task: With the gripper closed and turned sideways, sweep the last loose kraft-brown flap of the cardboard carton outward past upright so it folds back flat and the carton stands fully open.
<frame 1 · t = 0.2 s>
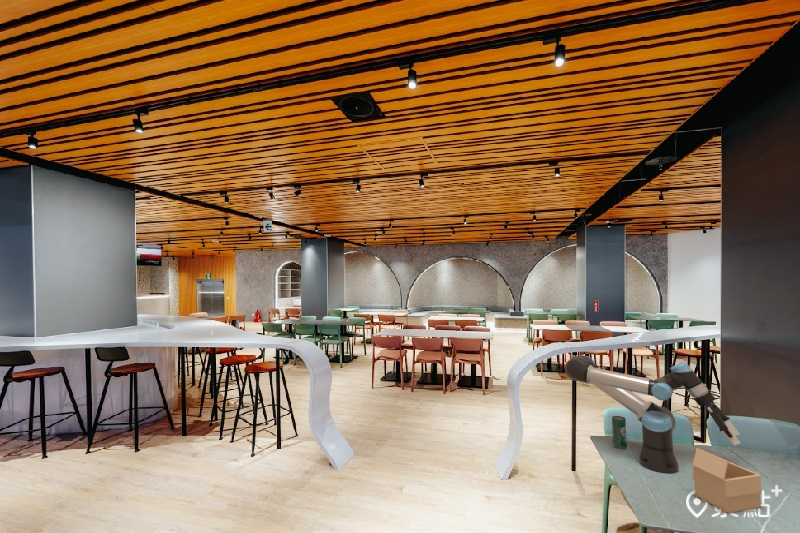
hand: (737, 439, 169), 15 cm above the table, tool tilted 35°, fingers open, 13 cm apart
carton: (727, 501, 146), on the table
can: (620, 447, 197), on the table
flap: (709, 463, 146), point 15 cm above the table, hinge at 70.0°
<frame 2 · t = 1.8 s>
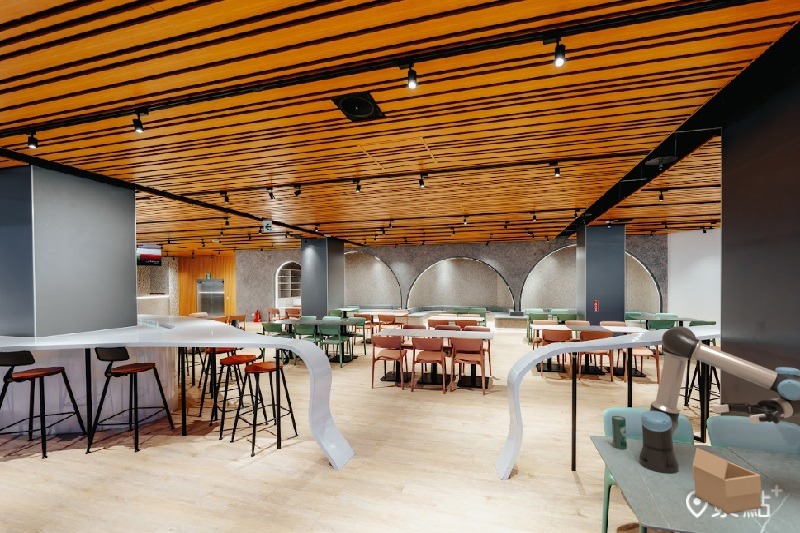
hand: (732, 414, 150), 32 cm above the table, tool horizontal, fingers open, 13 cm apart
nothing on the table moved.
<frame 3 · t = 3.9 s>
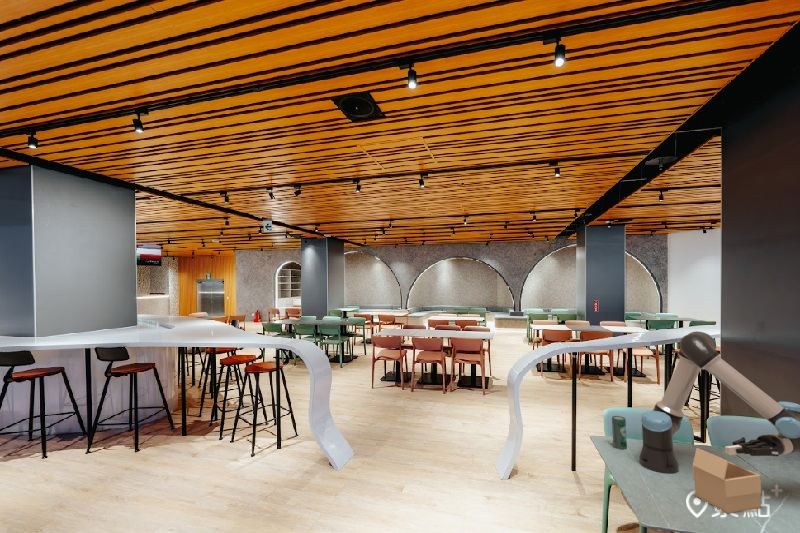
hand: (727, 450, 148), 19 cm above the table, tool horizontal, fingers closed
nothing on the table moved.
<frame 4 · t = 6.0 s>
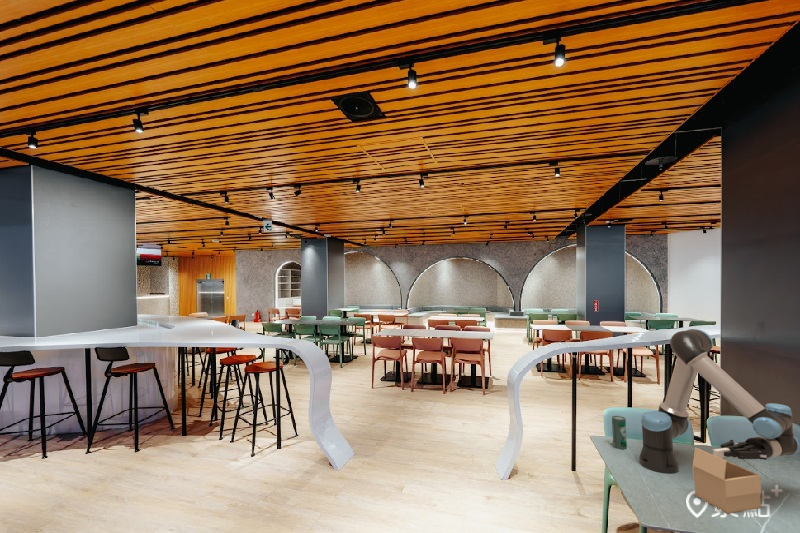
hand: (714, 453, 145), 19 cm above the table, tool horizontal, fingers closed
flap: (709, 462, 146), point 15 cm above the table, hinge at 77.1°, touching gripper
everything else where it was.
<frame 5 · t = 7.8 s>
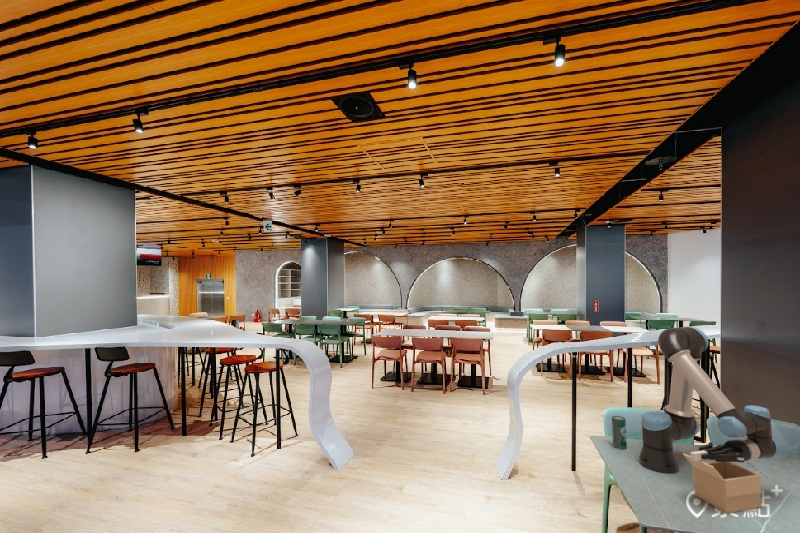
hand: (692, 456, 144), 19 cm above the table, tool horizontal, fingers closed
flap: (702, 466, 145), point 14 cm above the table, hinge at 130.7°, touching carton
everything else where it was.
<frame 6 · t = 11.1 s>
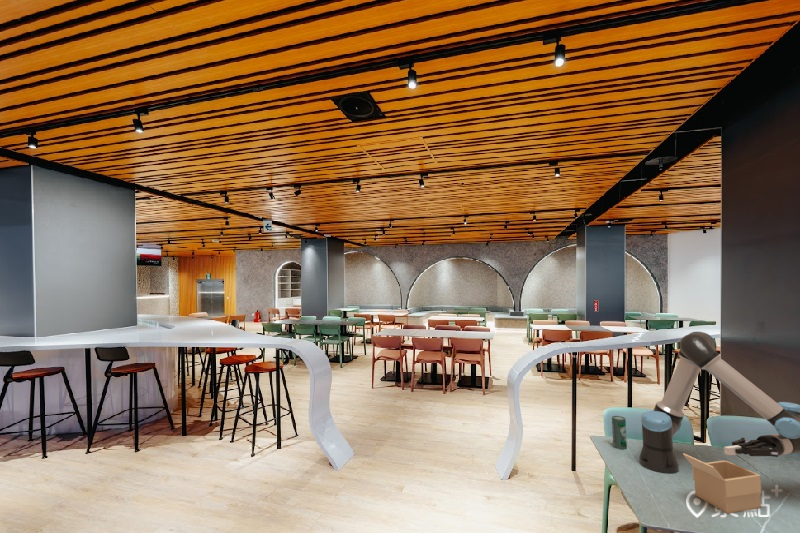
hand: (726, 451, 148), 19 cm above the table, tool horizontal, fingers closed
nothing on the table moved.
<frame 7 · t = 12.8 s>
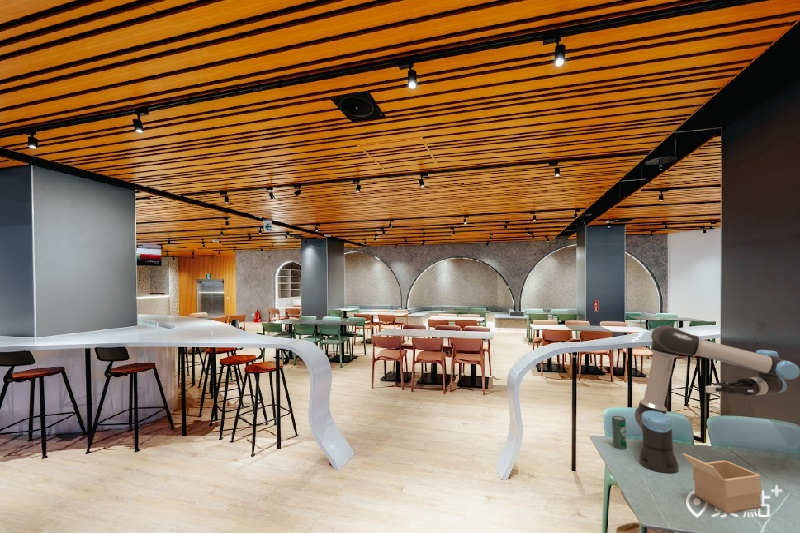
hand: (707, 389, 167), 38 cm above the table, tool horizontal, fingers closed
nothing on the table moved.
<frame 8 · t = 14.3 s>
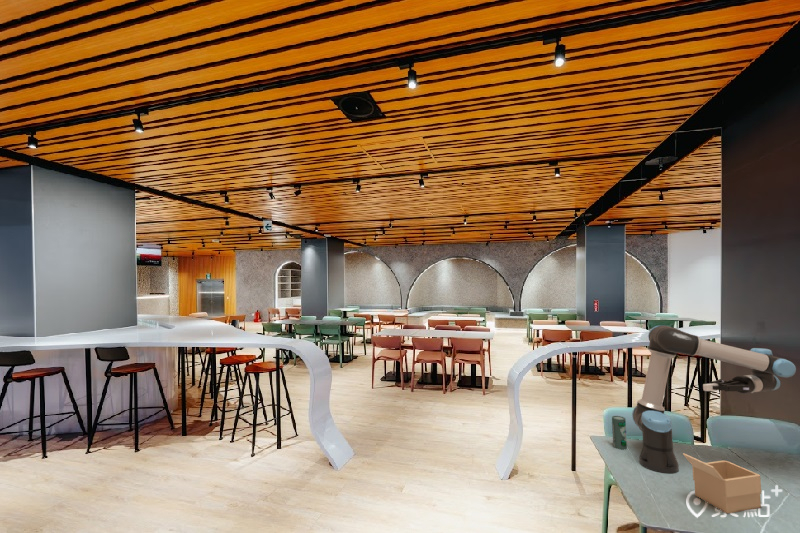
hand: (704, 387, 169), 38 cm above the table, tool horizontal, fingers closed
nothing on the table moved.
at the end: flap at +131° (first picture: +70°) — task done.
